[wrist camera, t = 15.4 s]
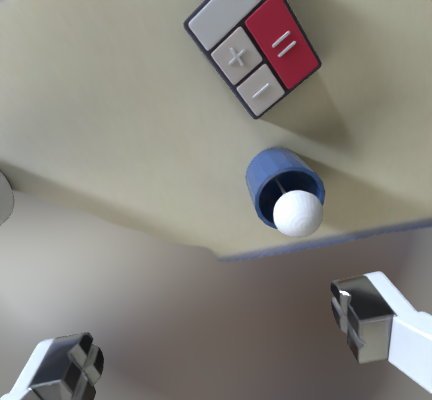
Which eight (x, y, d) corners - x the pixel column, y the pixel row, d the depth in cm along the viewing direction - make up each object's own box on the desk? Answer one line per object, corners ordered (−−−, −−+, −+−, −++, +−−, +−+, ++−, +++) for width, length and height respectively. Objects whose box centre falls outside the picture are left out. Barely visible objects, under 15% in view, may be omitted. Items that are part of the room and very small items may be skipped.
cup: (245, 203, 48) (254, 232, 40) (245, 149, 43) (255, 168, 35) (300, 200, 48) (320, 227, 40) (306, 145, 44) (329, 164, 35)
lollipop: (269, 153, 43) (299, 194, 30) (300, 169, 45) (342, 214, 31) (250, 186, 46) (269, 237, 32) (279, 199, 47) (310, 254, 34)
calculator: (256, 122, 38) (181, 23, 32) (250, 115, 42) (182, 25, 36) (325, 65, 35) (257, -56, 29) (312, 63, 39) (250, -44, 33)
